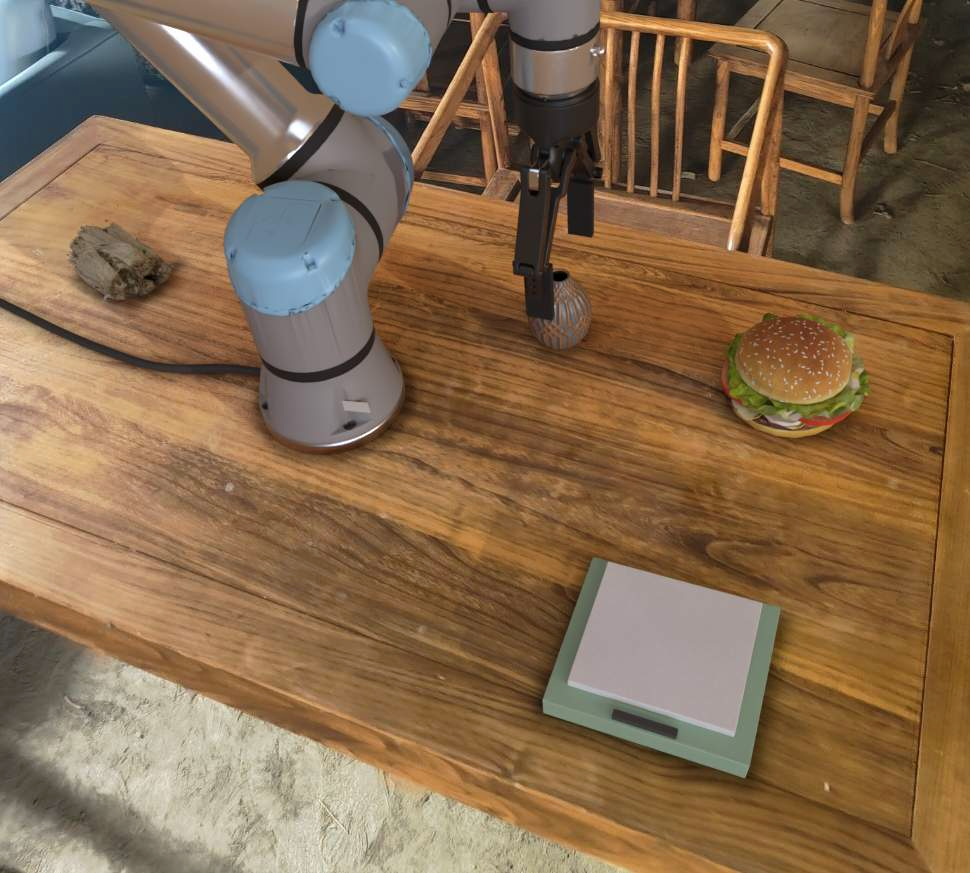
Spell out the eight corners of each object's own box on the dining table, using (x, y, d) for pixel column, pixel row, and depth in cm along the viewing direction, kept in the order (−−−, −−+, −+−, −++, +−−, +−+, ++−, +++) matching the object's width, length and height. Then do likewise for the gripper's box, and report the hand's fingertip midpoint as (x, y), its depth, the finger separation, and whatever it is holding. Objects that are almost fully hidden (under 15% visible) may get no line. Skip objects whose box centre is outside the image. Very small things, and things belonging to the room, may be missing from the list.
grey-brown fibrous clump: (190, 278, 114) (176, 243, 110) (123, 320, 110) (106, 284, 106) (126, 234, 121) (110, 199, 117) (61, 271, 117) (43, 237, 113)
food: (854, 463, 88) (874, 407, 82) (705, 431, 92) (715, 375, 86) (868, 365, 96) (888, 307, 90) (731, 339, 100) (742, 282, 94)
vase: (587, 361, 100) (587, 299, 93) (523, 356, 101) (520, 294, 94) (595, 318, 104) (596, 256, 97) (534, 313, 105) (531, 251, 99)
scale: (542, 713, 74) (541, 695, 72) (592, 571, 82) (593, 550, 80) (745, 778, 70) (751, 761, 67) (776, 621, 78) (783, 601, 75)
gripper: (552, 164, 71) (559, 362, 87) (636, 16, 86) (628, 208, 102) (462, 152, 73) (484, 347, 89) (558, 9, 88) (563, 198, 104)
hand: (561, 273), depth 96 cm, fingers open, 13 cm apart
